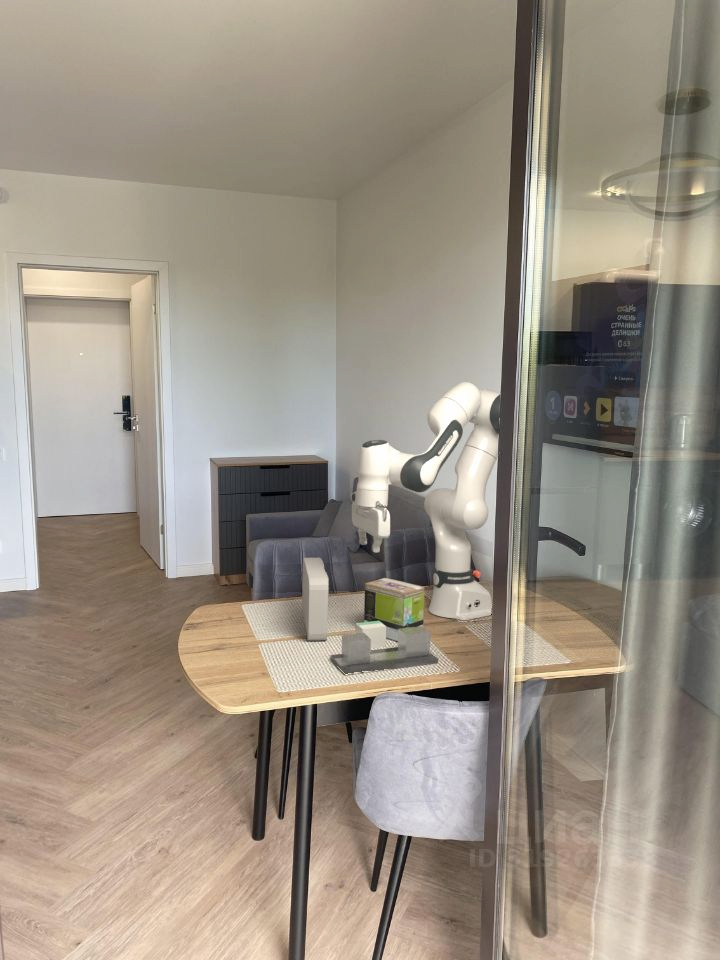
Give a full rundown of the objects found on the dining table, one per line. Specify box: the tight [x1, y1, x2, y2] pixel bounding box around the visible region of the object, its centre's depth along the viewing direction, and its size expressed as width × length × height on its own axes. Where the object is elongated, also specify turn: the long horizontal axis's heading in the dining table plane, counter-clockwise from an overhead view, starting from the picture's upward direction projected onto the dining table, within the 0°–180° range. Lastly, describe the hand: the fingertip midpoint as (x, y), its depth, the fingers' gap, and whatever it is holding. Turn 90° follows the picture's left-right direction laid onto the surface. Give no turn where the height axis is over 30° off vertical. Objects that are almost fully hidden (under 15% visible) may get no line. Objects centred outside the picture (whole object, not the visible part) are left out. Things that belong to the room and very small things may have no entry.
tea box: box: [363, 577, 425, 642], centre depth 213 cm, size 15×10×15 cm
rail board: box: [329, 625, 439, 674], centre depth 192 cm, size 26×11×8 cm, turn 111°
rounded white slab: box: [301, 557, 330, 642], centre depth 218 cm, size 29×8×18 cm, turn 8°
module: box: [355, 621, 387, 649], centre depth 204 cm, size 7×5×6 cm
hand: (369, 548), depth 205 cm, fingers open, 8 cm apart
